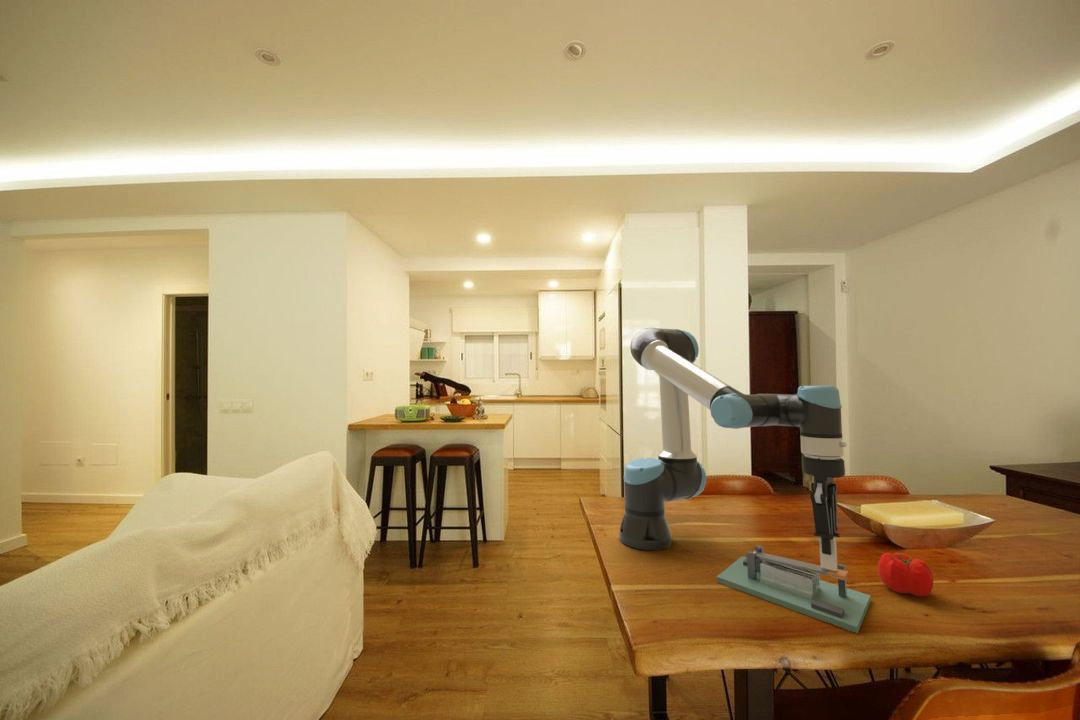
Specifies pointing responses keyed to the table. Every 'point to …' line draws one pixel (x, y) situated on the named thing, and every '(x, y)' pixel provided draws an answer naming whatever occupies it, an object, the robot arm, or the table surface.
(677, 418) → the robot arm
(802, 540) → the table surface
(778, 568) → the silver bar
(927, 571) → the tomato
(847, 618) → the board
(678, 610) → the table surface
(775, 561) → the silver flat strip
